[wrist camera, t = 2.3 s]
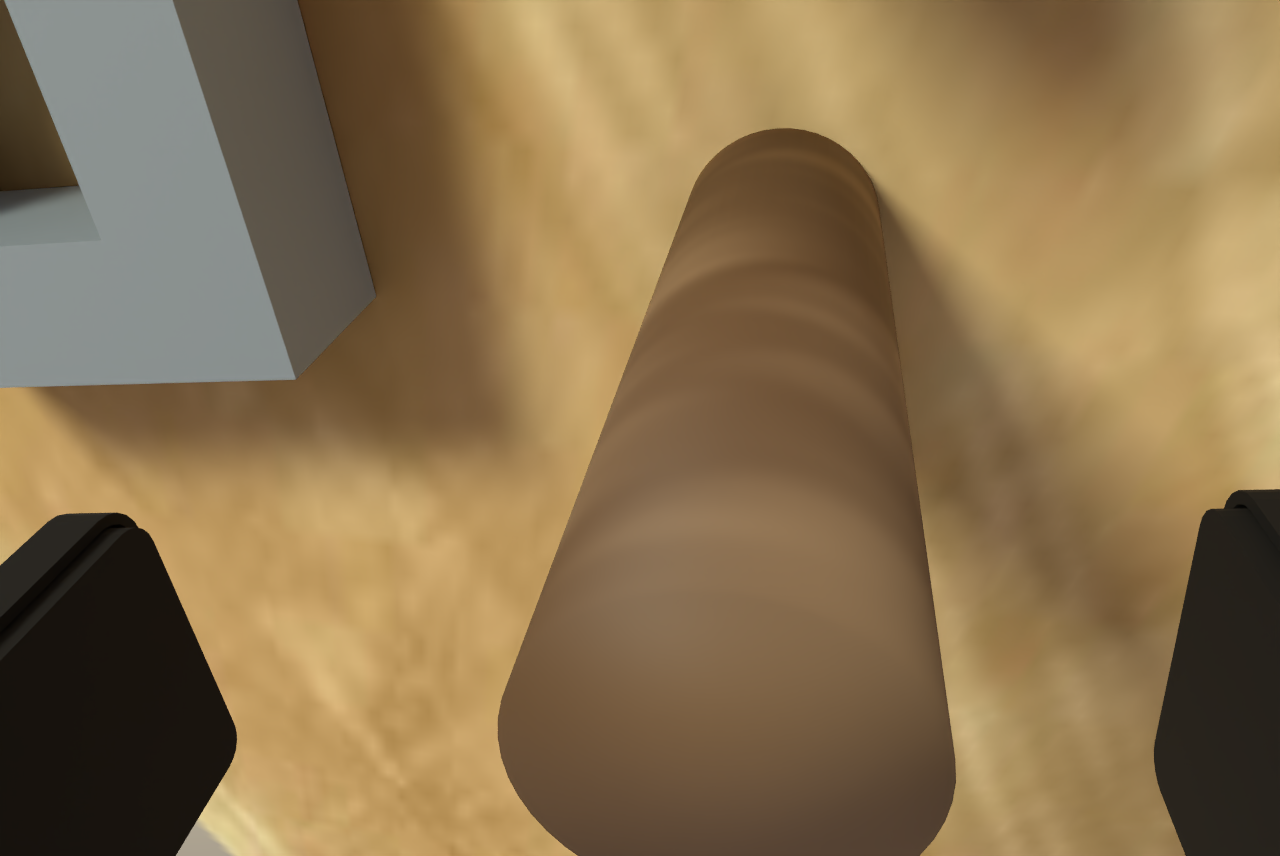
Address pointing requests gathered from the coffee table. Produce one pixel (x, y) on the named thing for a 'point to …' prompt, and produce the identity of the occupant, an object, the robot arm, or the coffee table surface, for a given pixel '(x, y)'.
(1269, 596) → the robot arm
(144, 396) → the coffee table surface
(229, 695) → the coffee table surface
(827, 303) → the tall dowel
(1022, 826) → the coffee table surface
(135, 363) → the hole block
